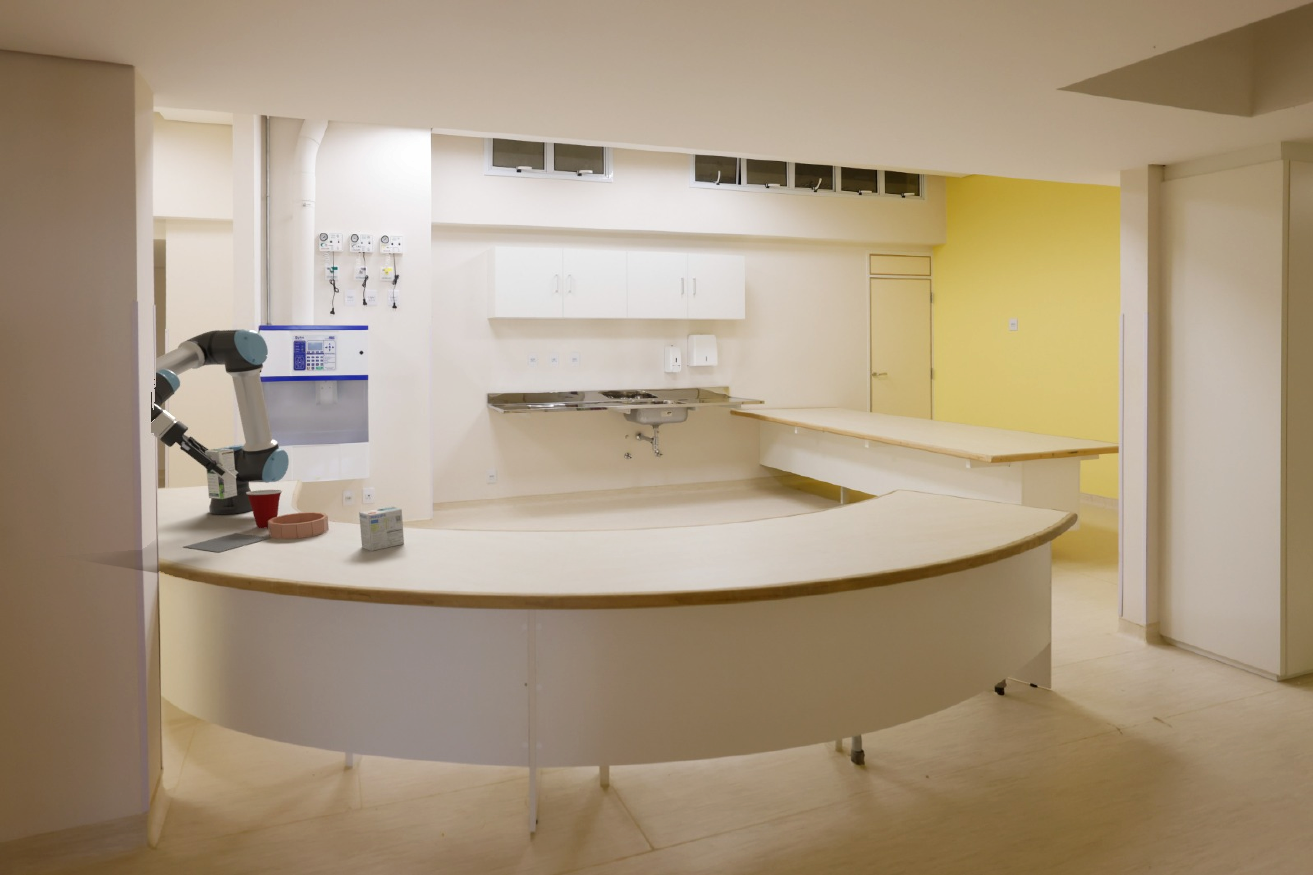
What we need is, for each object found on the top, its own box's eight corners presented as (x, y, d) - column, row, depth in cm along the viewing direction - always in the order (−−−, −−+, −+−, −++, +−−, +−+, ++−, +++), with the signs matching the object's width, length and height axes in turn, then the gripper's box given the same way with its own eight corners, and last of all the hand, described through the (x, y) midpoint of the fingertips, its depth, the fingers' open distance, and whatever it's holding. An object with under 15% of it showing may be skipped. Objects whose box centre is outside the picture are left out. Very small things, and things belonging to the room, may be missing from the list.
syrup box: (208, 498, 258) (203, 450, 256) (223, 494, 264) (219, 447, 262) (222, 499, 256) (217, 451, 254) (238, 495, 262) (234, 448, 260)
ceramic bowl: (301, 523, 285) (300, 510, 284) (339, 528, 278) (338, 514, 277) (257, 535, 270) (256, 521, 269) (296, 540, 262) (295, 526, 262)
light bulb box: (394, 540, 260) (391, 505, 259) (405, 544, 256) (402, 508, 254) (360, 547, 253) (358, 511, 252) (371, 551, 248) (368, 515, 247)
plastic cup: (291, 522, 288) (288, 487, 286) (274, 530, 277) (270, 493, 276) (260, 522, 289) (257, 487, 287) (242, 530, 278) (238, 493, 277)
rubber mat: (235, 533, 274) (235, 532, 274) (271, 538, 267) (271, 537, 267) (183, 547, 258) (183, 546, 258) (219, 552, 251) (219, 551, 251)
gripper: (163, 434, 261) (227, 481, 270) (153, 443, 242) (222, 494, 251) (181, 416, 262) (244, 463, 271) (173, 423, 243) (241, 474, 252)
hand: (234, 478), depth 261 cm, fingers closed on syrup box, 8 cm apart
